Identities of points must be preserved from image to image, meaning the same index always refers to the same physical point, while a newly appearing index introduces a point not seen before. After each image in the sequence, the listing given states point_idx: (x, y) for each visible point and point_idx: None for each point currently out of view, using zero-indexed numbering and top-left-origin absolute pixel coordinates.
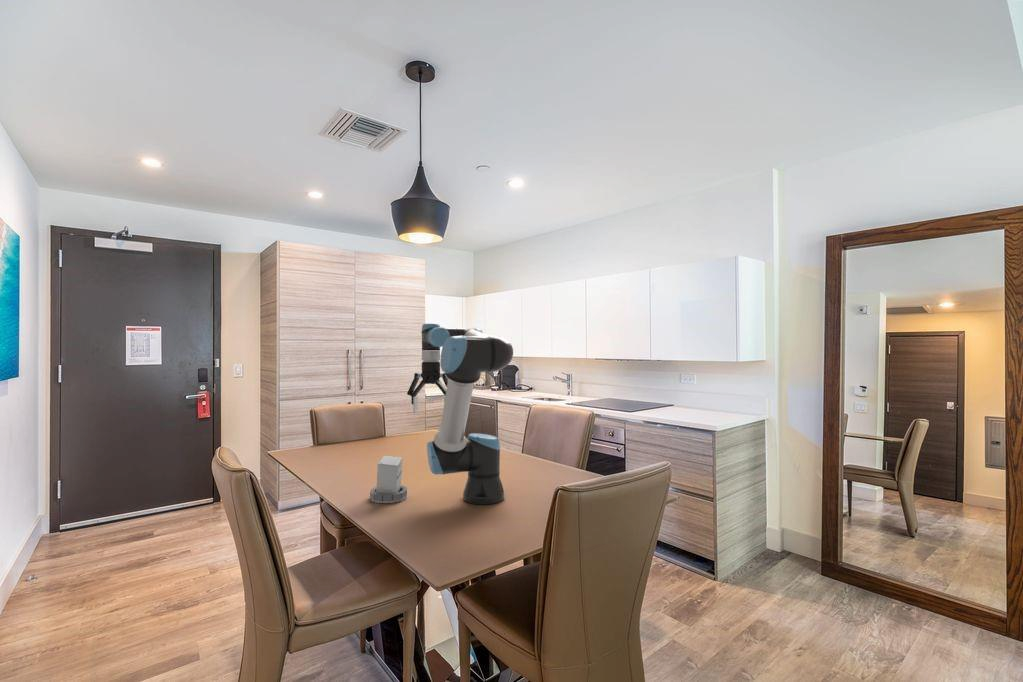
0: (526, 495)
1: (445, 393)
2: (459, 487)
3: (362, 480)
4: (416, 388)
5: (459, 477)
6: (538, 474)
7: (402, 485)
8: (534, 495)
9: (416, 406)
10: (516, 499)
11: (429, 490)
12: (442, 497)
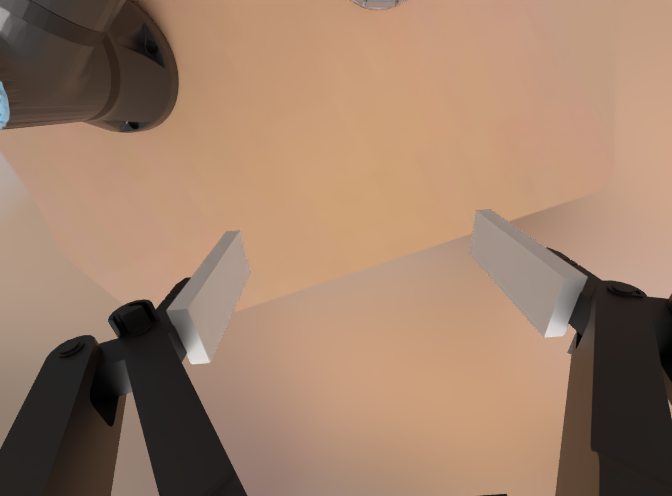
0: (40, 140)
1: (143, 353)
2: (240, 140)
3: (547, 95)
4: (650, 371)
5: (292, 224)
6: None
7: (367, 1)
8: (24, 148)
9: (495, 254)
10: None
11: (302, 77)
12: (226, 21)
